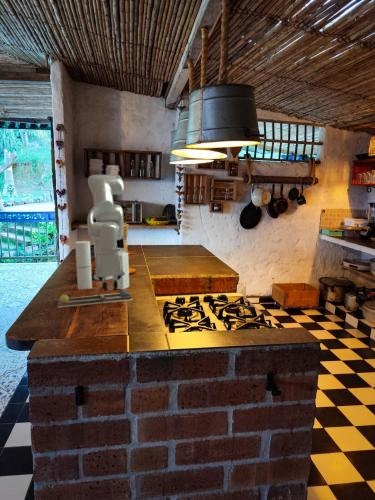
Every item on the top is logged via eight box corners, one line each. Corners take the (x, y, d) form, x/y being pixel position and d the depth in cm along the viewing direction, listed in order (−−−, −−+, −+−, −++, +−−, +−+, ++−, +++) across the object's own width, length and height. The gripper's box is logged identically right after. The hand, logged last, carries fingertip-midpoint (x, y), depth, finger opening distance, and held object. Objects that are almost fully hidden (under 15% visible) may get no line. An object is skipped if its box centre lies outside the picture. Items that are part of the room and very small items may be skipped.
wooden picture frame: (57, 301, 160) (57, 299, 160) (101, 297, 166) (101, 295, 166) (57, 306, 154) (57, 303, 154) (103, 301, 161) (103, 299, 160)
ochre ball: (59, 302, 159) (59, 294, 159) (69, 301, 161) (68, 293, 160) (59, 305, 156) (59, 296, 155) (69, 304, 157) (68, 295, 156)
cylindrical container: (77, 291, 179) (74, 243, 174) (78, 287, 186) (75, 241, 181) (92, 290, 181) (89, 242, 176) (92, 286, 188) (89, 240, 183)
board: (57, 301, 164) (57, 298, 164) (128, 294, 175) (128, 291, 175) (57, 310, 153) (57, 306, 153) (132, 302, 164) (132, 298, 163)
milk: (119, 287, 187) (118, 246, 183) (129, 288, 185) (128, 247, 181) (113, 290, 182) (111, 248, 178) (123, 291, 180) (122, 249, 176)
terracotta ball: (105, 289, 165) (105, 281, 164) (114, 288, 166) (113, 280, 165) (106, 292, 161) (106, 283, 160) (115, 291, 162) (114, 282, 162)
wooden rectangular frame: (103, 297, 167) (103, 295, 166) (129, 295, 171) (129, 292, 170) (104, 301, 161) (104, 299, 161) (131, 299, 165) (131, 296, 164)
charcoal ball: (118, 296, 168) (118, 288, 167) (127, 296, 169) (127, 288, 168) (120, 299, 164) (119, 291, 163) (128, 298, 165) (128, 290, 165)
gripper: (125, 248, 167) (126, 286, 170) (89, 250, 161) (91, 289, 164) (128, 251, 160) (129, 290, 163) (90, 253, 154) (92, 293, 157)
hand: (110, 289), depth 164 cm, fingers closed on terracotta ball, 3 cm apart
